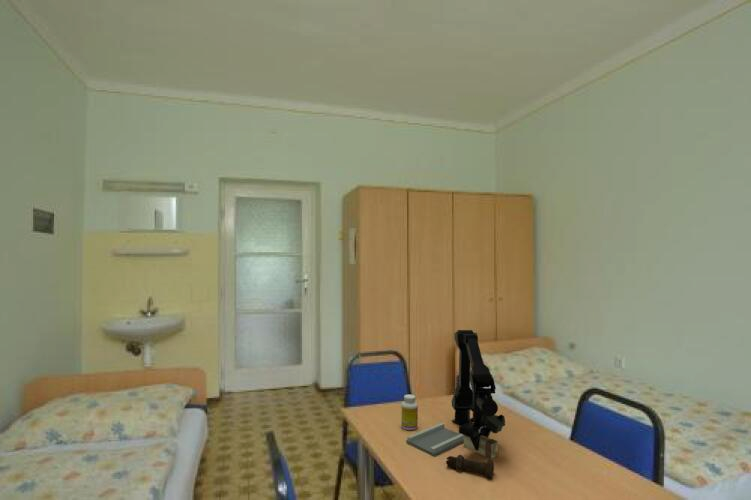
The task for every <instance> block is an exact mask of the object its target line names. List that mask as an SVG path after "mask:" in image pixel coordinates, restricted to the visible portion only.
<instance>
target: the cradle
mask: <svg viewBox="0 0 751 500" xmlns="http://www.w3.org/2000/svg"><path fill="white" fill-rule="evenodd" d="M405 442H406V444H408V445H409V446H412V447H415V448H416V449H418V450H420V451H422V452H424V453H425V454H428V455H430V456H432V457H437V456H440V455H441V454H443V453H445V452H447V451H450V450H451V449H453V448H456V447H458V446H460V445H462V444H464V435H463V434H460V433H459V432H455V431H453V430H451V429H449V428H446V427H445V423H442V422H440V423H438V424H435V425H433V426H430V427H428V428H426V429H423V430H421V431H418V432H415V433H413V434H411V435H408V436H407V439H406V441H405Z"/></svg>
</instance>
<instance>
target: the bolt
mask: <svg viewBox="0 0 751 500" xmlns="http://www.w3.org/2000/svg"><path fill="white" fill-rule="evenodd" d="M445 463H446V465H447V467H452V468H456V470H457V471H458V472H463V471H464V470H467V471H471V472H476V473H481V474H484V475H485V476H486V479H489V480H491V479H492V478H493V476H494V470H495V469H494V466H495V465H494V460H493V458H492V459H490V458H487V460H486V462H485V461H478V460H473V459H467V458H465V456H464V455H462V454H458V455H457V456H452V455H449V456H448V457H446V461H445Z"/></svg>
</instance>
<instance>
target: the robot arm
mask: <svg viewBox="0 0 751 500" xmlns="http://www.w3.org/2000/svg"><path fill="white" fill-rule="evenodd" d="M478 336H479V335H478V332H474V331H473V330H472V329H457V331H456V332H454V336H453V337H454V341H455V345H456V346H457V348H458V350H459V354H458V355H459V357H458V358H459V359H458V361H459V362H458V385H456V387H455V389H454V394H453V396H452V399H451V407H452V409H453V411H454V419H452V420H451V422H452V423H454V424H457V425H459V426H458V433H459V434H463V435H465V436H468V437H470V439H471V441H472V443H473V446H474V448H475V450H477V451H478V449H479V441H480V437H481V436H482V435H483V436H485V437H488V438H490V434H491V433H493V434H498V433H499V432H502V430H503V427H504V426H506V420H505V419H506V418H505V416H504V415H503V414H500V415H497V414H496V413H497V412H498V409H499V407H498V404H497V402H496V401H495V400H494V399H493V395H492V394H496V389H497V387H496V384H495V380H494V377H493V374H492V373H491V371H490V369H489V367H488V366H487V365H486V364H485V363H484V360H483V357H482V353H481V352H482V351H481V349H480V345H479V338H478ZM471 412H472V417H471Z"/></svg>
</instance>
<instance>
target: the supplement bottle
mask: <svg viewBox="0 0 751 500" xmlns="http://www.w3.org/2000/svg"><path fill="white" fill-rule="evenodd" d="M403 400H404V401H402V402H401V417H400V418H401V420H400V421H401V425H400V427H401V429H403V430H406V431H414V430H416V429H417V428H418V426H419V425H418V412H419V409H418V407H419V405H418V403H417V401H416V396H415V395H414V394H405V395H404V396H403Z"/></svg>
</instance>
